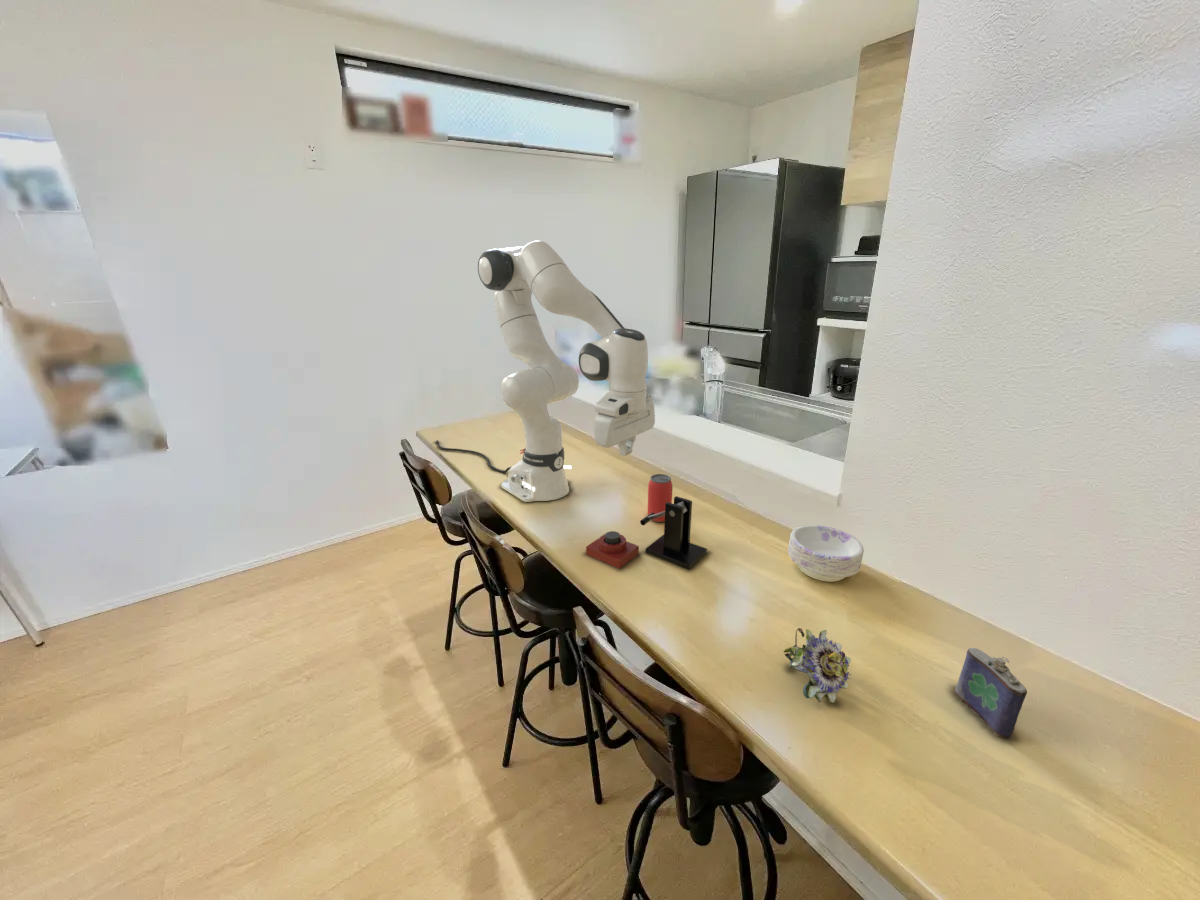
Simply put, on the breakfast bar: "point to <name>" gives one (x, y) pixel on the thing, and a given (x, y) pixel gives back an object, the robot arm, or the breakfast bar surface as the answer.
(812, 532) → the paper bowls
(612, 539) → the button
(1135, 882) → the breakfast bar surface
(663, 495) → the beer can
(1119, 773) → the breakfast bar surface
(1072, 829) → the breakfast bar surface
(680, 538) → the bracket
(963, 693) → the flask
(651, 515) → the lever
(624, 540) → the button box
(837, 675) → the passion flower
